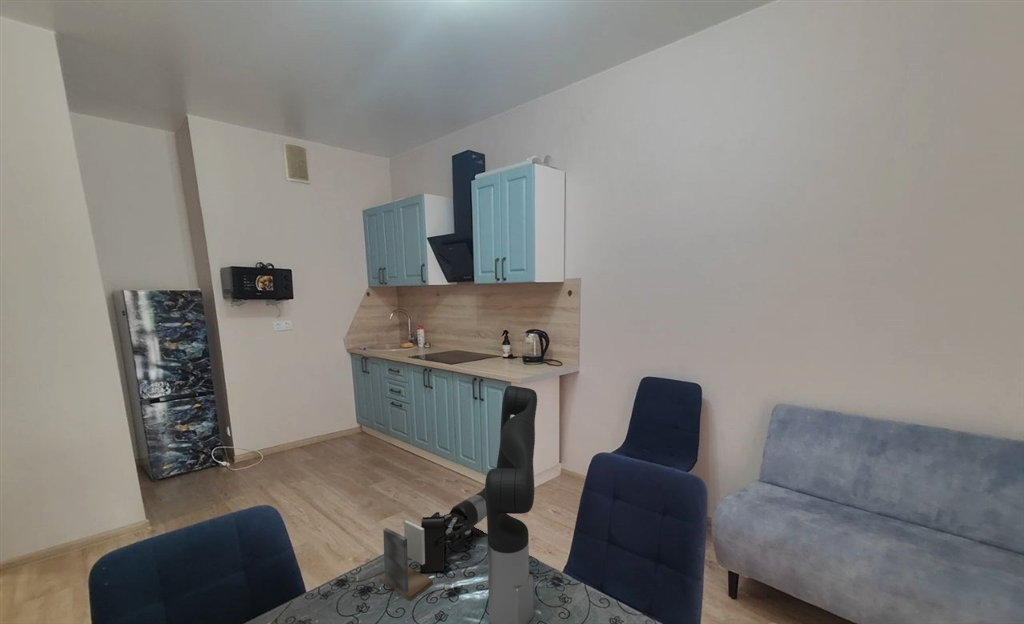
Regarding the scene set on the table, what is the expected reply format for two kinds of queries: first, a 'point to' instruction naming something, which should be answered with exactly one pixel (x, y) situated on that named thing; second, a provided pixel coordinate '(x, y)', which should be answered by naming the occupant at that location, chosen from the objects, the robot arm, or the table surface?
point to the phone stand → (432, 554)
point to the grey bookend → (401, 568)
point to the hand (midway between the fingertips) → (426, 540)
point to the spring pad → (415, 542)
